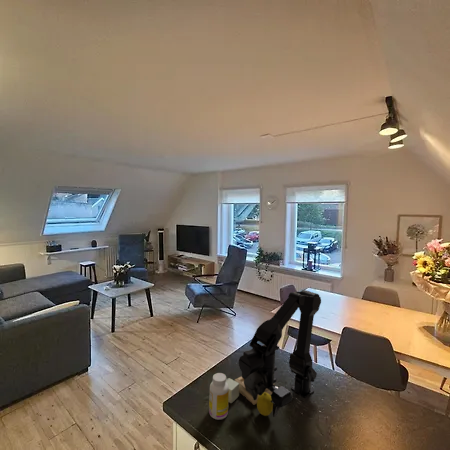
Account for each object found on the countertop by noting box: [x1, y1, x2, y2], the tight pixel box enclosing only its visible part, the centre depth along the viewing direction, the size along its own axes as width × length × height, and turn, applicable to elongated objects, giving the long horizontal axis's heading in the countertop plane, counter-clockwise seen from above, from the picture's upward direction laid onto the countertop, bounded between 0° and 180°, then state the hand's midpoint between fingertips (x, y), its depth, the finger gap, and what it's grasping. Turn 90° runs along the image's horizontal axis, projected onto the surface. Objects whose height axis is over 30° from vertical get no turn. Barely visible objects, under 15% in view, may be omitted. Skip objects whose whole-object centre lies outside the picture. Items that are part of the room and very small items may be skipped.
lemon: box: [256, 392, 273, 417], centre depth 87 cm, size 6×6×8 cm
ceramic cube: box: [226, 377, 240, 404], centre depth 96 cm, size 5×5×5 cm
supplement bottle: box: [208, 372, 229, 420], centre depth 88 cm, size 7×7×13 cm
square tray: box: [234, 375, 276, 406], centre depth 100 cm, size 11×11×4 cm
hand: (264, 407), depth 87 cm, fingers open, 9 cm apart
